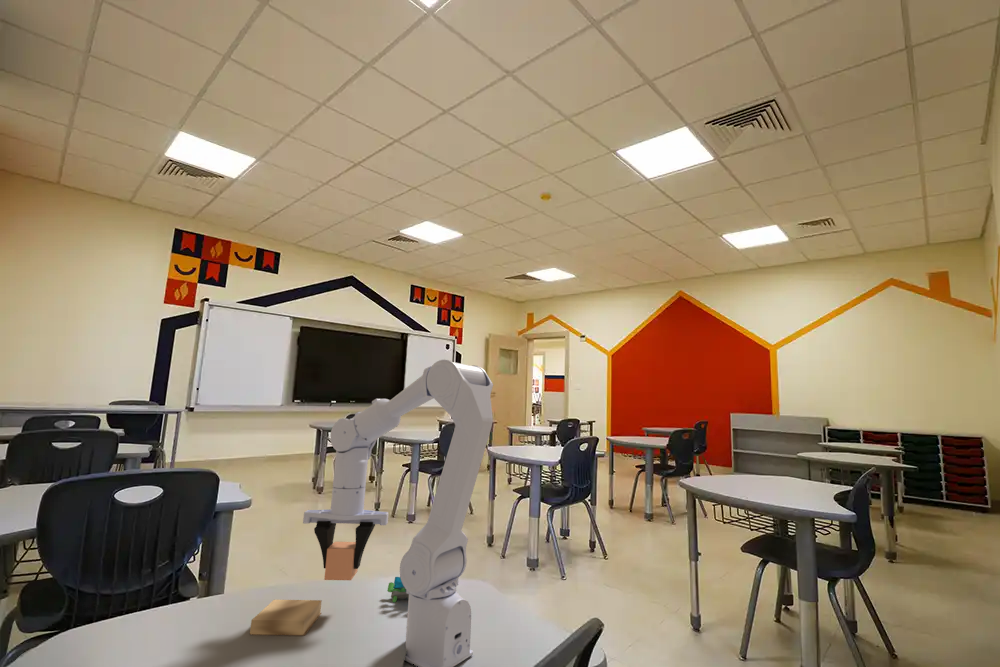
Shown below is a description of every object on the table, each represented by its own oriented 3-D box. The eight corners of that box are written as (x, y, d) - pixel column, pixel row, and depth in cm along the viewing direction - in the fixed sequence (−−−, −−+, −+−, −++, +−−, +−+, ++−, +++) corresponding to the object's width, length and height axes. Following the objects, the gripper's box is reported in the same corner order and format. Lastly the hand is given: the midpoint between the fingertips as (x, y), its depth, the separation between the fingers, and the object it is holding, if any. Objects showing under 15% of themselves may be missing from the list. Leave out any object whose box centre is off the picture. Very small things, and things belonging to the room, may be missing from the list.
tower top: (320, 613, 78) (321, 600, 79) (302, 635, 70) (304, 620, 71) (272, 612, 78) (274, 599, 78) (249, 634, 70) (251, 619, 70)
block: (357, 571, 83) (359, 542, 84) (351, 580, 78) (353, 549, 79) (332, 571, 83) (334, 541, 83) (324, 579, 78) (327, 548, 79)
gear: (452, 591, 89) (440, 563, 84) (449, 624, 84) (436, 597, 79) (397, 595, 90) (382, 568, 85) (391, 627, 85) (374, 601, 80)
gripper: (393, 484, 87) (387, 560, 85) (315, 482, 87) (308, 558, 84) (386, 490, 80) (380, 573, 78) (302, 488, 80) (293, 571, 77)
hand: (342, 566), depth 81 cm, fingers closed on block, 4 cm apart
